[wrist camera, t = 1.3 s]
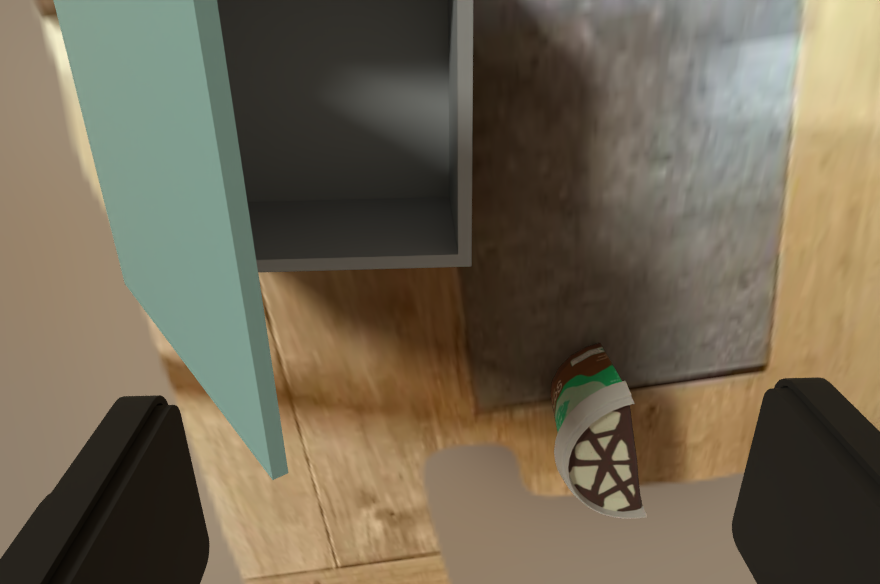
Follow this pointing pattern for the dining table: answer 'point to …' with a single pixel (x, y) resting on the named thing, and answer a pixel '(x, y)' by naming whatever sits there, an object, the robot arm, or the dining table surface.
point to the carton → (354, 130)
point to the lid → (178, 194)
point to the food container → (596, 434)
